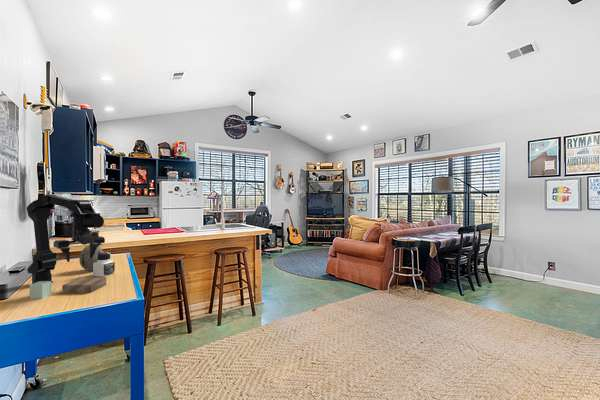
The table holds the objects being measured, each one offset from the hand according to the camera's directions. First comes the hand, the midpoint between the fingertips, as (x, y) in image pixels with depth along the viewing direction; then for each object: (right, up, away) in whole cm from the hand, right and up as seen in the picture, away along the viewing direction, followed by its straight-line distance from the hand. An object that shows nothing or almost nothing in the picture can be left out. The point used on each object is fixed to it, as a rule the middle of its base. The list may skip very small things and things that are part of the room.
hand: (80, 260), depth 137 cm
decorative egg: (-17, -13, +32) cm, 38 cm away
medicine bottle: (-4, -13, +23) cm, 27 cm away
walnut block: (+3, -14, -1) cm, 14 cm away
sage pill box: (-8, -13, -12) cm, 19 cm away
